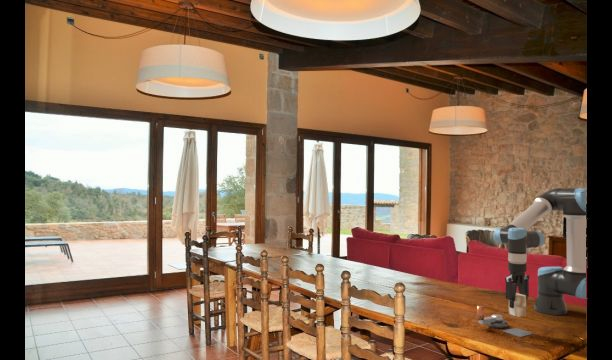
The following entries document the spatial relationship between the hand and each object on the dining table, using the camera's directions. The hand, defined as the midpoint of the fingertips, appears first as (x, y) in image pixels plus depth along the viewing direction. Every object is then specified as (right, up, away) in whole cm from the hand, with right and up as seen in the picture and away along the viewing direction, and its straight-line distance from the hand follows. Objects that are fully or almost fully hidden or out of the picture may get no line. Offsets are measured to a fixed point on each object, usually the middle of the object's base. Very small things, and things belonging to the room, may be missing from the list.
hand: (517, 314), depth 199 cm
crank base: (-5, -8, +10) cm, 14 cm away
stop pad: (0, -8, 0) cm, 8 cm away
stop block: (0, 0, 0) cm, 0 cm away
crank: (-9, -6, +8) cm, 14 cm away
